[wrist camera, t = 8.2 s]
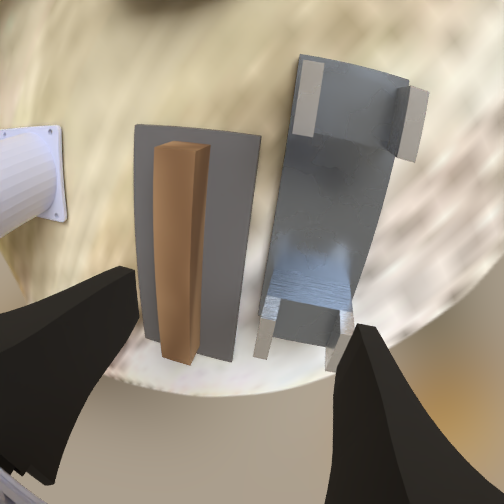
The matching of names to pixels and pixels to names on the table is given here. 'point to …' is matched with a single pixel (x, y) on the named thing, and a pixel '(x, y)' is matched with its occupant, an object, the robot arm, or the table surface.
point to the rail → (179, 244)
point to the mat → (215, 230)
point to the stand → (333, 198)
